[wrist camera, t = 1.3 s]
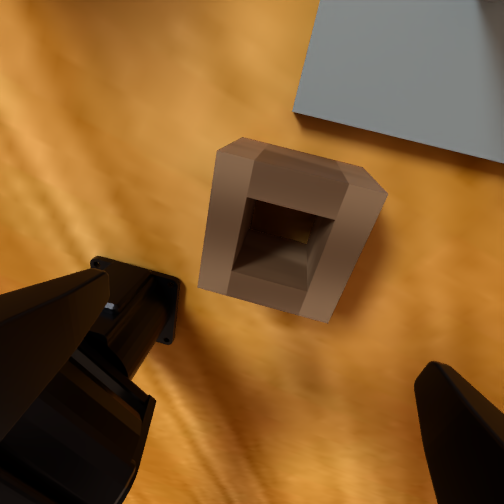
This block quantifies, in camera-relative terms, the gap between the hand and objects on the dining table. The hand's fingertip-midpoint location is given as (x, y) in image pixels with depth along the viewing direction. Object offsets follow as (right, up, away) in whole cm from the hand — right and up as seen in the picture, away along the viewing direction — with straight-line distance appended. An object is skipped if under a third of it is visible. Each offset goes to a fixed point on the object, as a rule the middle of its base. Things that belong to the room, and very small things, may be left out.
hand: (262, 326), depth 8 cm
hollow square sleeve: (+2, +4, +9) cm, 10 cm away
